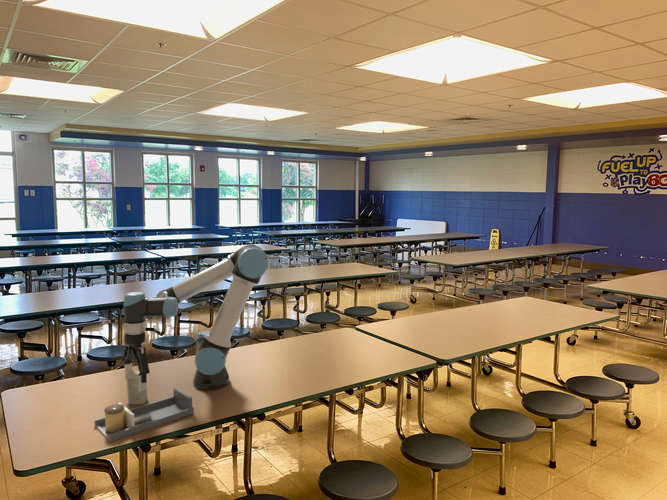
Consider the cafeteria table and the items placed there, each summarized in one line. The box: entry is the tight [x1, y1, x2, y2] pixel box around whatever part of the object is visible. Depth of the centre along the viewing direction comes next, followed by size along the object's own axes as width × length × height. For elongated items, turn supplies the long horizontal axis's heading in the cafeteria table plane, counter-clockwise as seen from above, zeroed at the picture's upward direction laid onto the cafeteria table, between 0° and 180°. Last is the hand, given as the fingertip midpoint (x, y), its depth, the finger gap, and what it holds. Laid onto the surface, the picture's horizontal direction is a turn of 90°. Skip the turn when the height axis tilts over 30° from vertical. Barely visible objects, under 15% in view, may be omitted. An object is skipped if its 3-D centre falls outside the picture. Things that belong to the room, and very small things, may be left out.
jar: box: [104, 403, 125, 434], centre depth 163 cm, size 6×6×8 cm
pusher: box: [117, 402, 151, 428], centre depth 169 cm, size 12×9×6 cm
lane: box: [93, 387, 195, 443], centre depth 171 cm, size 15×30×6 cm, turn 135°
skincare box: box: [126, 370, 148, 405], centre depth 185 cm, size 6×4×12 cm
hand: (135, 384), depth 185 cm, fingers open, 13 cm apart
